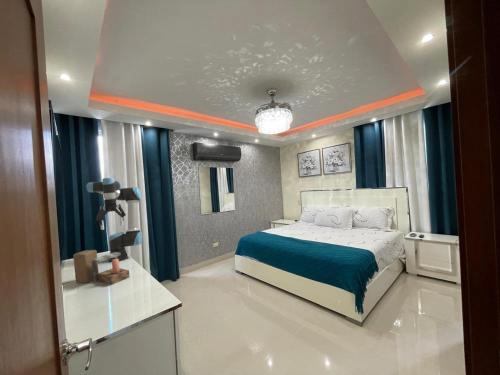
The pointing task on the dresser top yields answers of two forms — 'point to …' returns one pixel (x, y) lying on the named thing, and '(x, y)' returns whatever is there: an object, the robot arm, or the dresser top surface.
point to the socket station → (108, 271)
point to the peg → (115, 266)
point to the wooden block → (84, 265)
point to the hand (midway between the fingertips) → (112, 227)
